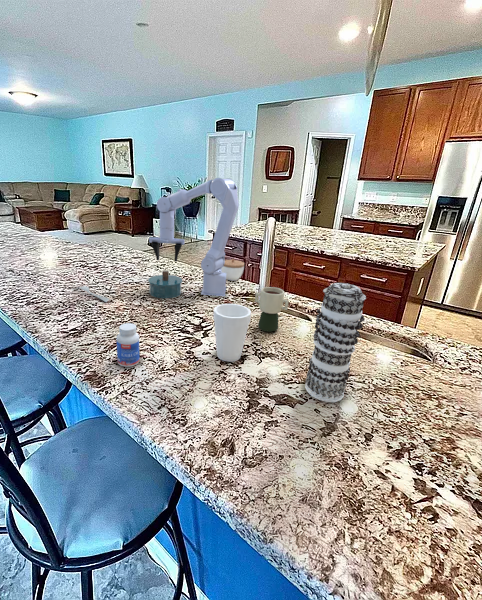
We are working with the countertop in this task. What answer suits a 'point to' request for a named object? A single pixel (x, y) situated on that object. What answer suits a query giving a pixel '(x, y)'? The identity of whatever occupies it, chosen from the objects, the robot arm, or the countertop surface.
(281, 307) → the character mug
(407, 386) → the countertop surface
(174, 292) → the bowl
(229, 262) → the trinket box
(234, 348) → the foam cup
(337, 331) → the leaning tower model
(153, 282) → the lid
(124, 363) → the pill bottle
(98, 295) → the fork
